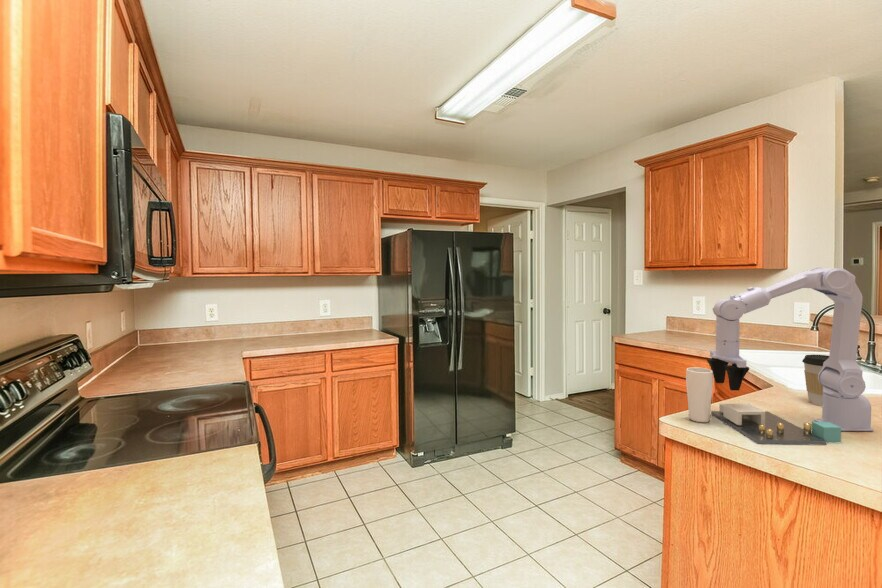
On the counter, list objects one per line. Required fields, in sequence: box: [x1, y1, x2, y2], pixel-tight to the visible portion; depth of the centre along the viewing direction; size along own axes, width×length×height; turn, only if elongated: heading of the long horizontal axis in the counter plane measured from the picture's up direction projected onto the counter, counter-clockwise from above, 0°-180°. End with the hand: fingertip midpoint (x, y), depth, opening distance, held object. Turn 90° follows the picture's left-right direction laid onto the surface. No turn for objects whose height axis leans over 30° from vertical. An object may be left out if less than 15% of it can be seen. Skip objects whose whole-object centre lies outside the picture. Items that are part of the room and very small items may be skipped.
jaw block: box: [811, 421, 842, 443], centre depth 109 cm, size 4×4×4 cm
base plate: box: [711, 410, 827, 445], centre depth 118 cm, size 16×22×4 cm
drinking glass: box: [685, 366, 714, 424], centre depth 125 cm, size 7×7×15 cm
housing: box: [718, 403, 765, 425], centre depth 123 cm, size 7×12×4 cm, turn 174°
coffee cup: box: [801, 354, 829, 407], centre depth 136 cm, size 10×10×15 cm
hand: (726, 386), depth 125 cm, fingers open, 7 cm apart
